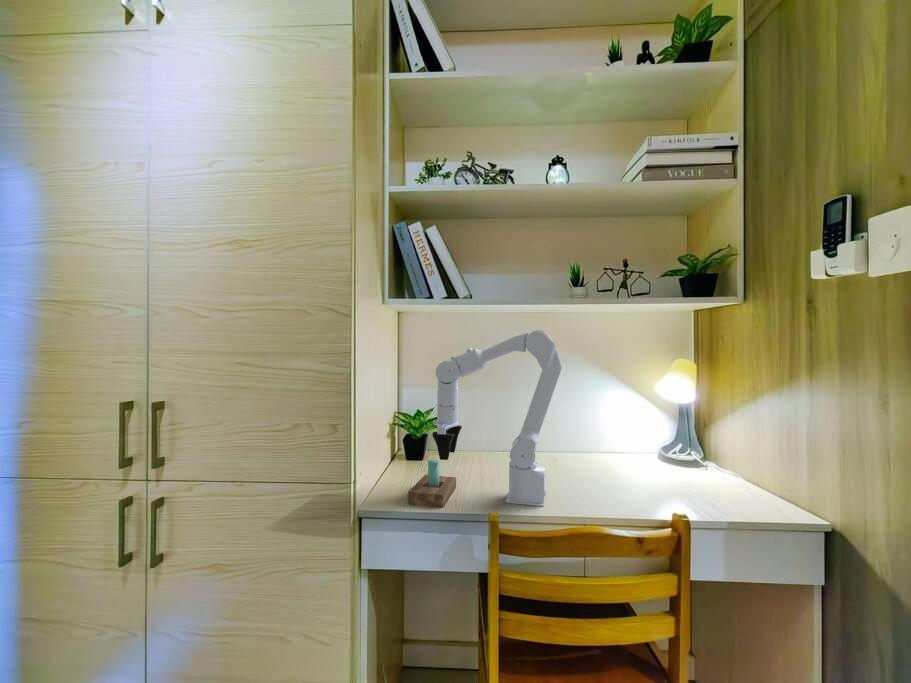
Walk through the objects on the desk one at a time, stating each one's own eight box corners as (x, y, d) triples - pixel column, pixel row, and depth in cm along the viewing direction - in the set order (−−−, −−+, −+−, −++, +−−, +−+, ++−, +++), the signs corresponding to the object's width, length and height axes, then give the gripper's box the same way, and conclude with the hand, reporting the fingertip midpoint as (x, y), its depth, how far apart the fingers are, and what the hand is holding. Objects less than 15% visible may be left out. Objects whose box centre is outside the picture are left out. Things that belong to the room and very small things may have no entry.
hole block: (455, 488, 117) (456, 477, 117) (443, 507, 103) (443, 495, 103) (424, 485, 119) (425, 474, 119) (408, 503, 105) (408, 491, 105)
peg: (440, 494, 112) (440, 460, 112) (437, 498, 109) (437, 463, 109) (429, 493, 113) (430, 459, 113) (426, 497, 110) (426, 462, 110)
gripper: (440, 401, 122) (439, 448, 122) (426, 408, 108) (425, 462, 108) (464, 402, 120) (463, 449, 120) (453, 409, 106) (452, 463, 106)
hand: (447, 455), depth 114 cm, fingers open, 7 cm apart
